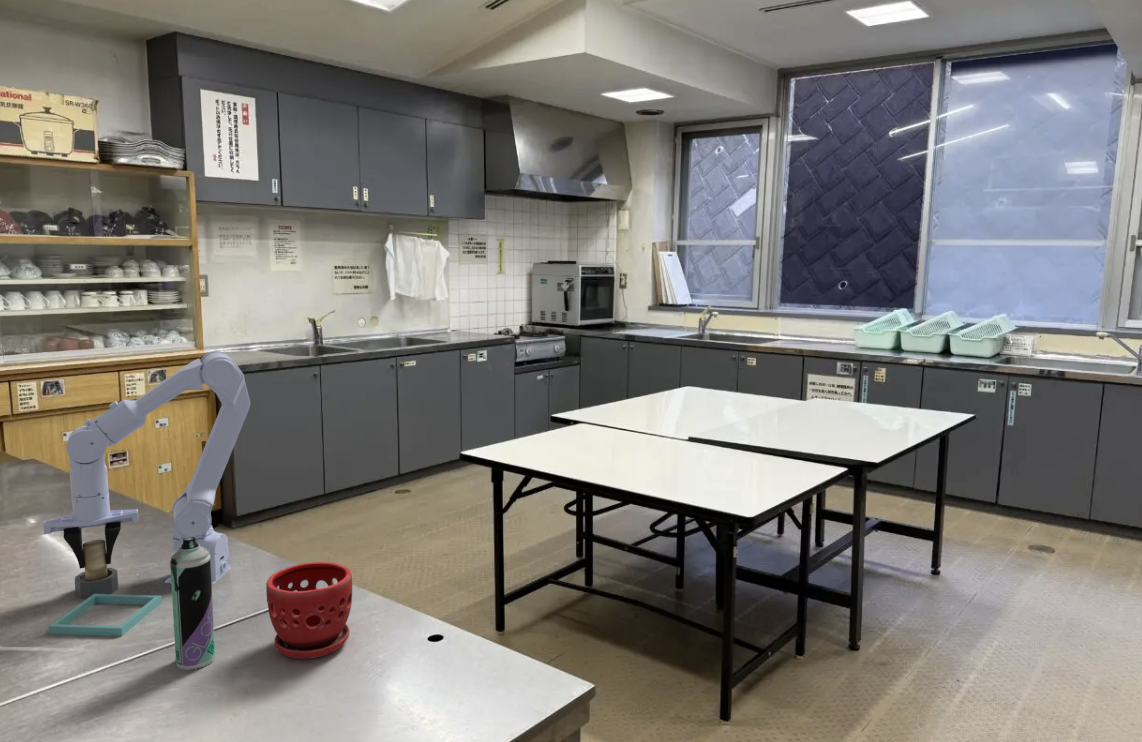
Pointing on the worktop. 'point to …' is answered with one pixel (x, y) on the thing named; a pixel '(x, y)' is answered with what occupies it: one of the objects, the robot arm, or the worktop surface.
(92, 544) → the birch dowel
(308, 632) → the plant pot
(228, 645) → the worktop surface
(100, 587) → the dark gray cup
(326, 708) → the worktop surface
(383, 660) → the worktop surface
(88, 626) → the teal tray
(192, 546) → the spray can
